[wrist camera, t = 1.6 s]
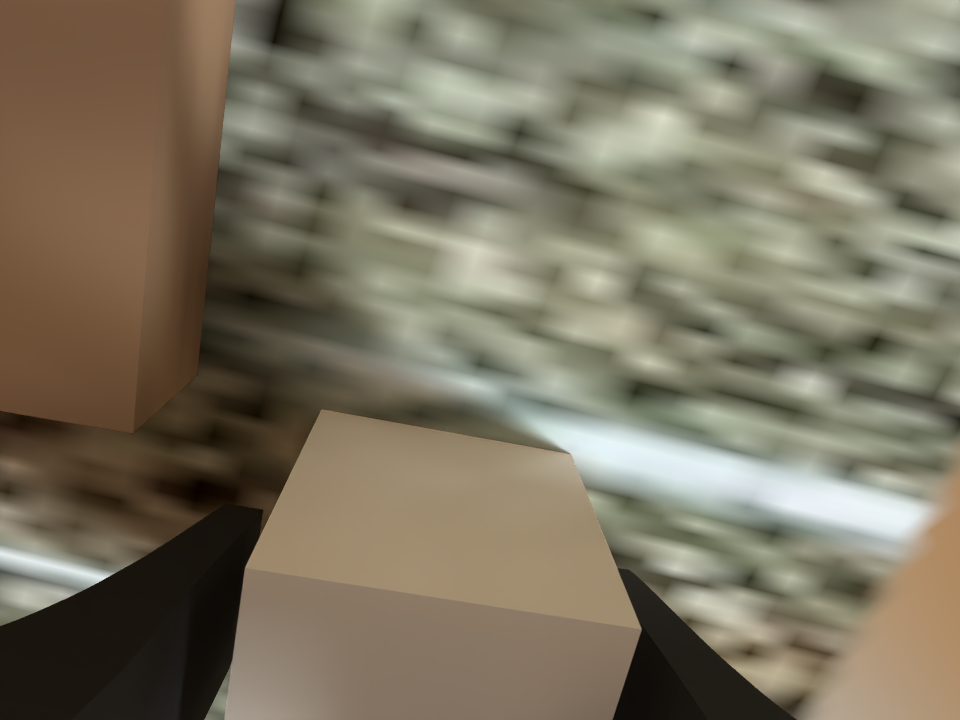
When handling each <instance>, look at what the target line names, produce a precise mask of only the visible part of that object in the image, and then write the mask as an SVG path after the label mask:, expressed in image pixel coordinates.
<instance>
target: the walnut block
mask: <svg viewBox="0 0 960 720" xmlns="http://www.w3.org/2000/svg"><path fill="white" fill-rule="evenodd" d="M235 1H236V0H0V411H4V412H9V413H15V414H21V415H27V416H33V417H39V418H45V419H51V420H56V421H62V422H68V423H74V424H80V425H86V426H92V427H97V428H103V429H109V430H115V431H121V432H127V433H134V432H135V431H136V430H137V429H139V428H140V427H141V426H142V425H143V424H144V423H145V422H146V421H147V420H149V419H150V418H151V417H152V416H153V415H154V414H155V413H156V412H157V411H158V410H160V409H161V408H162V407H163V406H164V405H165V404H166V403H167V402H168V401H170V400H171V399H172V398H173V397H174V396H175V395H176V394H177V393H178V392H179V391H181V390H182V389H183V388H184V387H185V386H186V385H187V384H188V383H189V382H191V381H192V380H193V379H194V378H195V377H196V376H197V372H198V363H199V353H200V343H201V333H202V324H203V314H204V304H205V294H206V284H207V275H208V265H209V255H210V245H211V236H212V226H213V216H214V206H215V197H216V187H217V177H218V167H219V158H220V148H221V138H222V128H223V118H224V109H225V99H226V89H227V79H228V70H229V60H230V50H231V40H232V31H233V21H234V11H235Z"/></svg>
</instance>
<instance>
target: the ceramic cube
mask: <svg viewBox="0 0 960 720" xmlns="http://www.w3.org/2000/svg"><path fill="white" fill-rule="evenodd" d="M641 630H642V629H641V626H640V624H639V621H638V619H637V616H636V614H635V611H634V609H633V606H632V604H631V601H630V599H629V596H628V594H627V592H626V589H625V587H624V584H623V582H622V579H621V577H620V574H619V572H618V569H617V567H616V564H615V562H614V559H613V557H612V554H611V552H610V549H609V547H608V544H607V542H606V539H605V537H604V534H603V532H602V529H601V527H600V524H599V522H598V520H597V517H596V515H595V512H594V510H593V507H592V505H591V502H590V500H589V497H588V495H587V492H586V490H585V487H584V485H583V482H582V480H581V477H580V475H579V472H578V470H577V467H576V465H575V462H574V460H573V457H572V455H571V454H567V453H562V452H556V451H551V450H545V449H540V448H534V447H529V446H523V445H517V444H512V443H506V442H501V441H495V440H490V439H484V438H479V437H473V436H467V435H462V434H456V433H451V432H445V431H440V430H434V429H429V428H423V427H417V426H412V425H406V424H401V423H395V422H390V421H384V420H379V419H373V418H367V417H362V416H356V415H351V414H345V413H340V412H334V411H329V410H323V409H321V411H320V413H319V416H318V418H317V420H316V422H315V424H314V426H313V428H312V430H311V432H310V434H309V436H308V438H307V440H306V442H305V445H304V447H303V449H302V451H301V453H300V455H299V457H298V459H297V461H296V463H295V465H294V467H293V469H292V471H291V474H290V476H289V478H288V480H287V482H286V484H285V486H284V488H283V490H282V492H281V494H280V496H279V498H278V500H277V503H276V505H275V507H274V509H273V511H272V513H271V515H270V517H269V519H268V521H267V523H266V525H265V527H264V529H263V532H262V534H261V536H260V538H259V540H258V542H257V544H256V546H255V548H254V550H253V552H252V554H251V556H250V558H249V561H248V563H247V565H246V567H245V571H244V579H243V586H242V593H241V601H240V608H239V616H238V623H237V630H236V638H235V645H234V652H233V660H232V667H231V675H230V682H229V689H228V697H227V704H226V711H225V719H224V720H613V717H614V713H615V710H616V707H617V704H618V701H619V698H620V695H621V692H622V689H623V686H624V683H625V680H626V676H627V673H628V670H629V667H630V664H631V661H632V658H633V655H634V652H635V649H636V646H637V643H638V639H639V636H640V633H641Z"/></svg>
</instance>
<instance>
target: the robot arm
mask: <svg viewBox="0 0 960 720" xmlns="http://www.w3.org/2000/svg"><path fill="white" fill-rule="evenodd" d="M262 514H263V510H261V509H255V508H249V507H243V506H237V505H231V504H225V505H223V506H222V507H220V508H219V509H217V510H216V511H214V512H212V513H211V514H209V515H208V516H206V517H205V518H203V519H202V520H200V521H199V522H197V523H196V524H194V525H193V526H191V527H190V528H188V529H187V530H185V531H184V532H182V533H181V534H179V535H178V536H176V537H175V538H173V539H172V540H170V541H169V542H167V543H165V544H164V545H162V546H161V547H159V548H157V549H156V550H154V551H153V552H151V553H149V554H148V555H146V556H145V557H143V558H141V559H140V560H138V561H136V562H134V563H133V564H131V565H129V566H127V567H125V568H124V569H122V570H120V571H118V572H117V573H115V574H113V575H111V576H109V577H108V578H106V579H104V580H102V581H101V582H99V583H97V584H95V585H93V586H91V587H89V588H87V589H85V590H83V591H81V592H79V593H77V594H75V595H73V596H71V597H69V598H67V599H65V600H62V601H60V602H58V603H56V604H53V605H51V606H49V607H47V608H44V609H42V610H40V611H38V612H35V613H33V614H31V615H28V616H26V617H23V618H21V619H19V620H16V621H13V622H10V623H8V624H5V625H2V626H0V720H204V719H205V717H206V715H207V713H208V711H209V709H210V707H211V705H212V703H213V701H214V699H215V697H216V695H217V692H218V690H219V688H220V686H221V684H222V682H223V680H224V678H225V676H226V674H227V672H228V670H229V667H230V665H231V662H232V659H233V652H234V645H235V638H236V630H237V623H238V616H239V608H240V601H241V593H242V586H243V579H244V571H245V567H246V565H247V563H248V561H249V558H250V556H251V554H252V552H253V550H254V548H255V546H256V544H257V542H258V540H259V535H260V528H261V521H262ZM617 569H618V572H619V574H620V577H621V579H622V582H623V584H624V587H625V589H626V592H627V594H628V596H629V599H630V601H631V604H632V606H633V609H634V611H635V614H636V616H637V619H638V621H639V624H640V626H641V629H642V630H641V633H640V636H639V639H638V643H637V646H636V649H635V652H634V655H633V658H632V661H631V664H630V667H629V670H628V673H627V676H626V680H625V683H624V686H623V689H622V692H621V695H620V698H619V701H618V704H617V707H616V710H615V713H614V717H613V720H796V719H795V718H794V717H792V716H791V715H790V714H788V713H787V712H786V711H784V710H783V709H782V708H780V707H779V706H778V705H776V704H775V703H774V702H773V701H771V700H770V699H769V698H768V697H766V696H765V695H764V694H763V693H761V692H760V691H759V690H758V689H757V688H755V687H754V686H753V685H752V684H751V683H750V682H748V681H747V680H746V679H745V678H744V677H743V676H742V675H740V674H739V673H738V672H737V671H736V670H735V669H734V668H732V667H731V666H730V665H729V664H728V663H727V662H726V661H724V660H723V659H722V658H721V657H720V656H719V655H718V654H717V653H716V652H715V651H714V650H713V649H711V648H710V647H709V646H708V645H707V644H706V643H705V642H704V641H703V640H702V639H701V638H700V637H699V636H698V635H697V634H696V633H695V632H694V631H693V630H692V629H691V628H689V627H688V626H687V625H686V624H685V623H684V622H683V621H682V620H681V619H680V618H679V617H678V616H677V615H676V614H675V613H674V612H673V611H672V610H671V609H670V608H669V607H668V606H667V605H666V604H665V603H664V602H663V601H662V600H661V599H660V598H659V597H658V596H657V595H656V594H655V593H654V592H653V591H652V590H651V589H650V588H649V587H648V586H647V585H646V584H645V583H644V582H643V581H642V580H640V579H639V578H638V577H637V576H636V575H635V574H634V573H632V572H631V571H630V570H627V569H621V568H617Z"/></svg>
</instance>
